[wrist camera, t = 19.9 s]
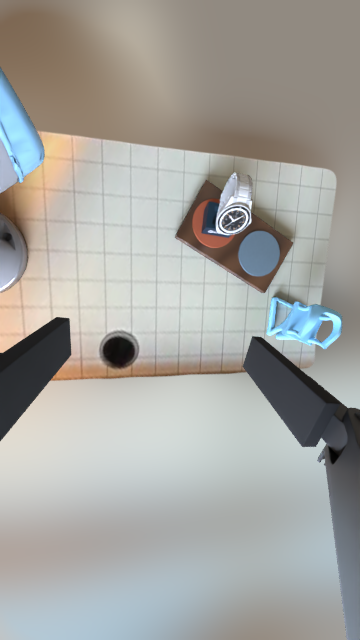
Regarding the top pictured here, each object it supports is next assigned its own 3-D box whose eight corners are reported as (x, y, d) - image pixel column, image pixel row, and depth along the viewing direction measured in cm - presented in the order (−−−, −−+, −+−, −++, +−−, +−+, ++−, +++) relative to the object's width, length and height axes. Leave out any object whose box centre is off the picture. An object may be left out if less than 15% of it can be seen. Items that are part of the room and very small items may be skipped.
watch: (200, 243, 36) (220, 219, 25) (205, 199, 35) (228, 155, 24) (227, 248, 36) (258, 227, 26) (233, 205, 36) (267, 165, 25)
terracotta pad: (183, 231, 35) (184, 231, 35) (206, 189, 35) (207, 188, 35) (222, 256, 37) (222, 256, 36) (244, 216, 36) (245, 215, 36)
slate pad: (230, 261, 37) (231, 261, 37) (252, 222, 37) (253, 221, 37) (265, 284, 39) (265, 284, 38) (286, 246, 38) (287, 246, 38)
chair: (257, 330, 41) (299, 343, 29) (272, 296, 41) (321, 295, 29) (285, 342, 42) (336, 359, 31) (300, 309, 42) (358, 313, 30)
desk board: (174, 237, 36) (175, 235, 35) (204, 183, 36) (206, 179, 35) (261, 293, 40) (265, 292, 39) (289, 244, 40) (293, 242, 39)
